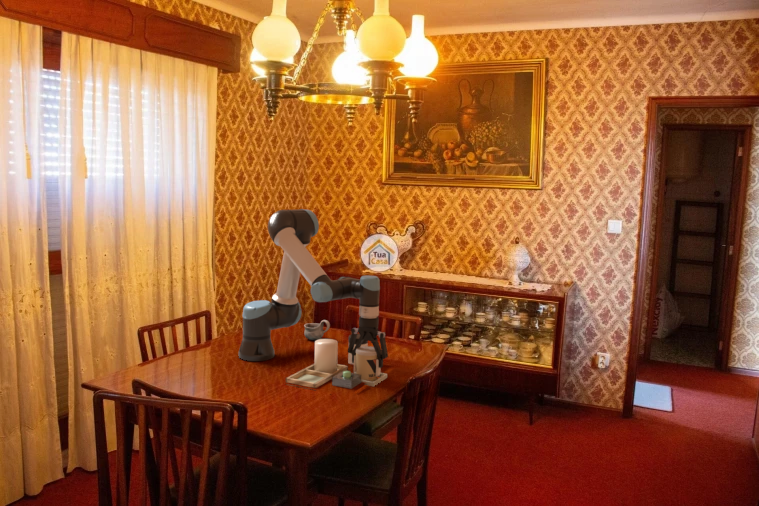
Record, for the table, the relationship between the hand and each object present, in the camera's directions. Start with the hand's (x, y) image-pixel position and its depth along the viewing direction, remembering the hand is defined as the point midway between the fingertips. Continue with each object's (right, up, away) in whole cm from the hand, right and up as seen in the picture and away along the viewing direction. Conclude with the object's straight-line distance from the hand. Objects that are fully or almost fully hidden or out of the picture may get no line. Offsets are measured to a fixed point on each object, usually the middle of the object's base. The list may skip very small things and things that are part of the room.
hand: (366, 373), depth 235 cm
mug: (-25, +5, +55) cm, 61 cm away
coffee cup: (0, -3, 0) cm, 3 cm away
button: (-7, -2, -9) cm, 11 cm away
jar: (-4, 0, +19) cm, 20 cm away
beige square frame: (0, -2, 0) cm, 3 cm away
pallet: (-19, -2, 0) cm, 19 cm away
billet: (-16, 0, +5) cm, 17 cm away
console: (-7, -3, -8) cm, 12 cm away
